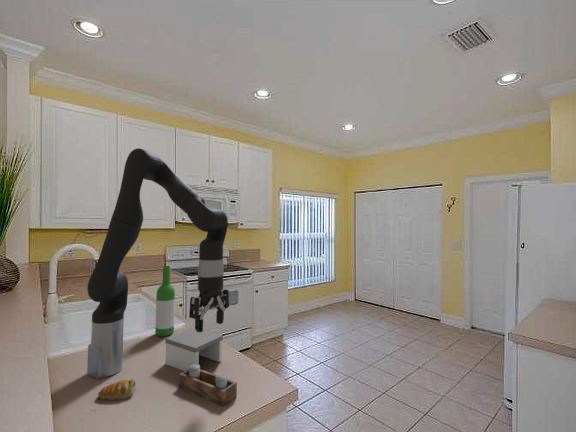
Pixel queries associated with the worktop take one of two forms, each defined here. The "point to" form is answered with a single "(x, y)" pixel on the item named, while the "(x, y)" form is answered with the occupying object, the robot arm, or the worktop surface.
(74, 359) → the worktop surface
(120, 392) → the pastry
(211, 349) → the counter bay
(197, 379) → the caddy
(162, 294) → the wine bottle
